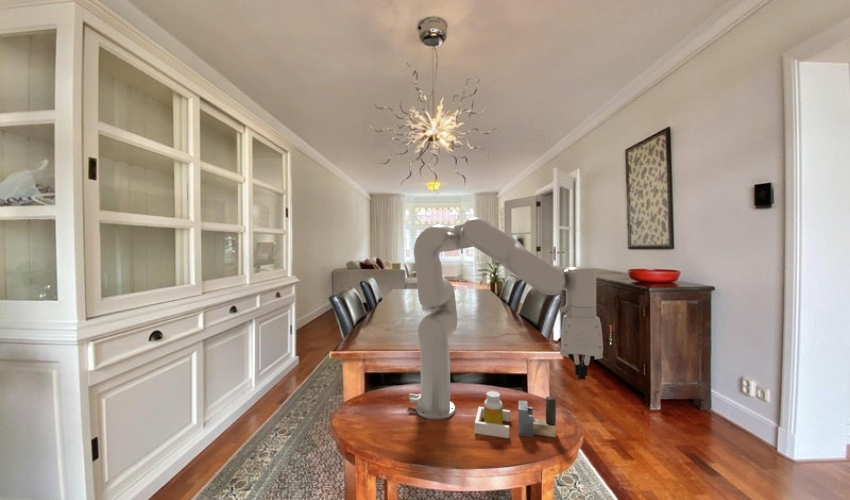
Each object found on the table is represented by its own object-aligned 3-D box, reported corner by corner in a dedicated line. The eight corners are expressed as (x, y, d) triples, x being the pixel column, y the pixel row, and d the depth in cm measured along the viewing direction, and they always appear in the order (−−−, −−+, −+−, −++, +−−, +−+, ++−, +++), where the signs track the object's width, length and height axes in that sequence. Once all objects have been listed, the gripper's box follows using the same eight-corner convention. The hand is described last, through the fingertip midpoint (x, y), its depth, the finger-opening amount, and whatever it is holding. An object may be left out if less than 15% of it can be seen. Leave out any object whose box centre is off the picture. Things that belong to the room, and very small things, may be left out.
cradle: (474, 433, 96) (474, 422, 96) (478, 415, 106) (478, 406, 106) (509, 438, 93) (509, 427, 93) (510, 420, 103) (510, 410, 103)
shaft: (525, 433, 96) (525, 398, 95) (525, 427, 98) (525, 393, 98) (556, 437, 93) (556, 401, 93) (555, 431, 96) (555, 396, 96)
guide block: (518, 435, 95) (518, 409, 95) (518, 424, 100) (518, 400, 100) (533, 437, 94) (533, 411, 94) (532, 426, 99) (532, 401, 99)
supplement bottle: (502, 432, 96) (502, 398, 96) (483, 430, 97) (483, 397, 97) (502, 422, 102) (502, 390, 101) (484, 420, 103) (484, 389, 103)
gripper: (553, 313, 91) (553, 380, 91) (615, 315, 87) (615, 386, 87) (550, 308, 98) (550, 370, 98) (607, 310, 94) (607, 375, 94)
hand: (581, 377), depth 93 cm, fingers closed
